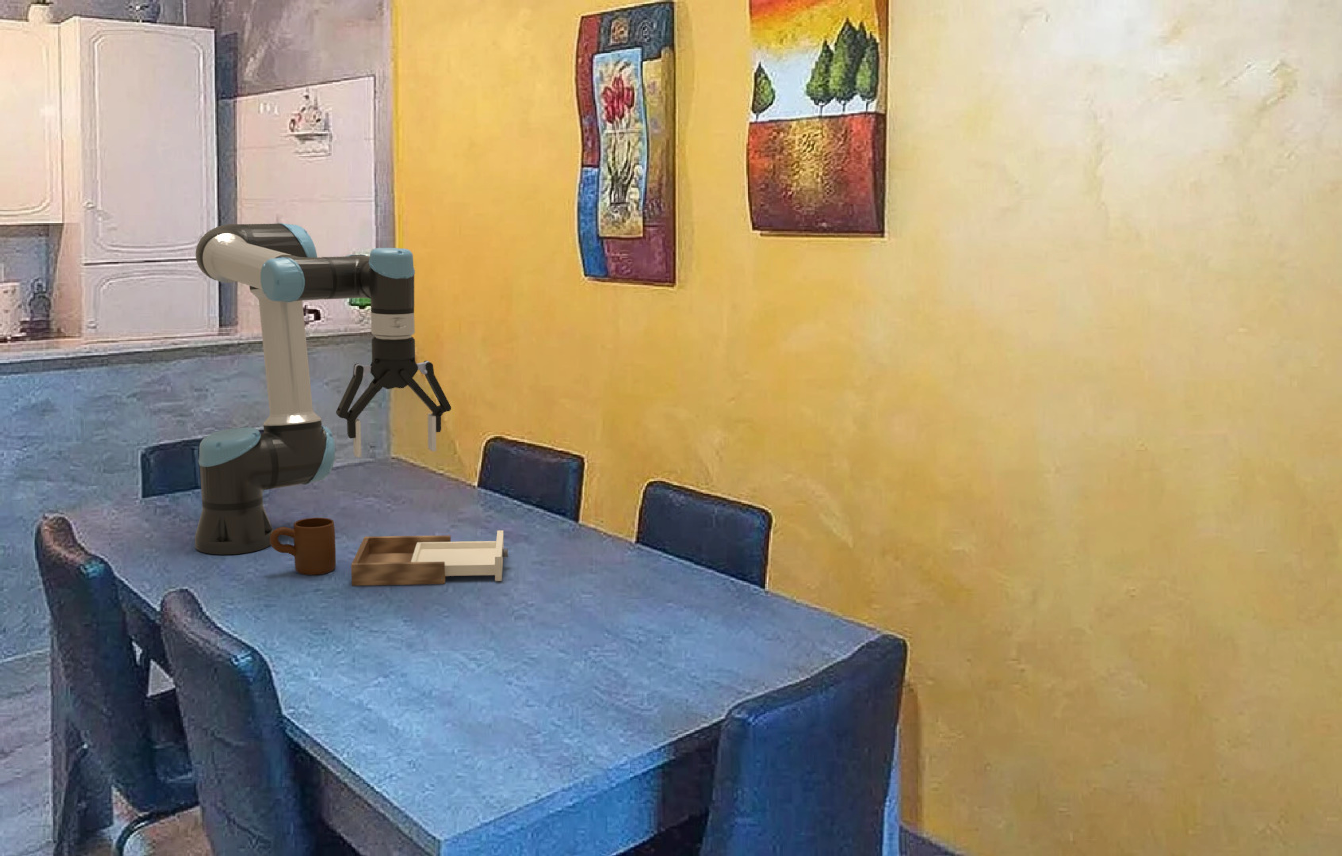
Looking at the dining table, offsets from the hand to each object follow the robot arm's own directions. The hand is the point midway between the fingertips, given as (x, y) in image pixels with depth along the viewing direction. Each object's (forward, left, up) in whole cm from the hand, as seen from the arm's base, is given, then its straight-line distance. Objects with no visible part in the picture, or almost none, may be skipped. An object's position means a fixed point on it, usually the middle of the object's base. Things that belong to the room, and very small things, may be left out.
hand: (395, 452), depth 217 cm
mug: (-19, -9, -25) cm, 33 cm away
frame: (-7, +6, -25) cm, 27 cm away
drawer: (-1, +14, -25) cm, 29 cm away
